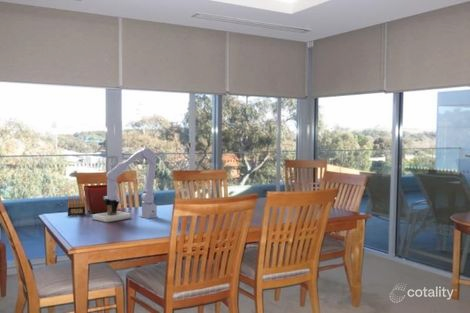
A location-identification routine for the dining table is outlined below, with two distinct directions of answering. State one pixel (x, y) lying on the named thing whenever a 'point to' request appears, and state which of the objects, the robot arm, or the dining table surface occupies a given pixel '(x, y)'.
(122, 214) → the tray
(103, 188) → the plant pot
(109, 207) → the walnut block
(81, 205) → the ammunition clip
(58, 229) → the dining table surface
